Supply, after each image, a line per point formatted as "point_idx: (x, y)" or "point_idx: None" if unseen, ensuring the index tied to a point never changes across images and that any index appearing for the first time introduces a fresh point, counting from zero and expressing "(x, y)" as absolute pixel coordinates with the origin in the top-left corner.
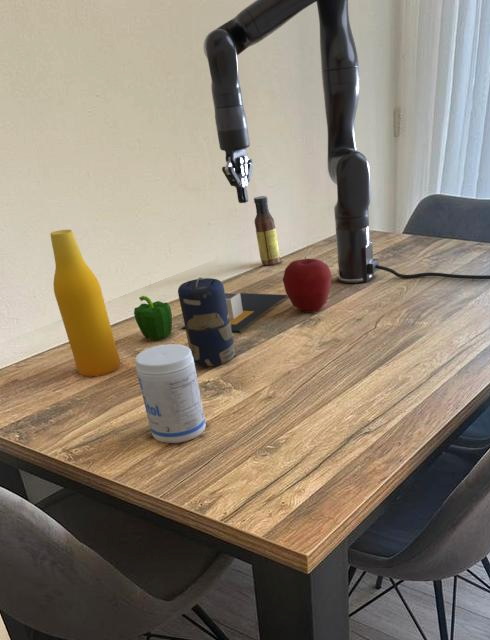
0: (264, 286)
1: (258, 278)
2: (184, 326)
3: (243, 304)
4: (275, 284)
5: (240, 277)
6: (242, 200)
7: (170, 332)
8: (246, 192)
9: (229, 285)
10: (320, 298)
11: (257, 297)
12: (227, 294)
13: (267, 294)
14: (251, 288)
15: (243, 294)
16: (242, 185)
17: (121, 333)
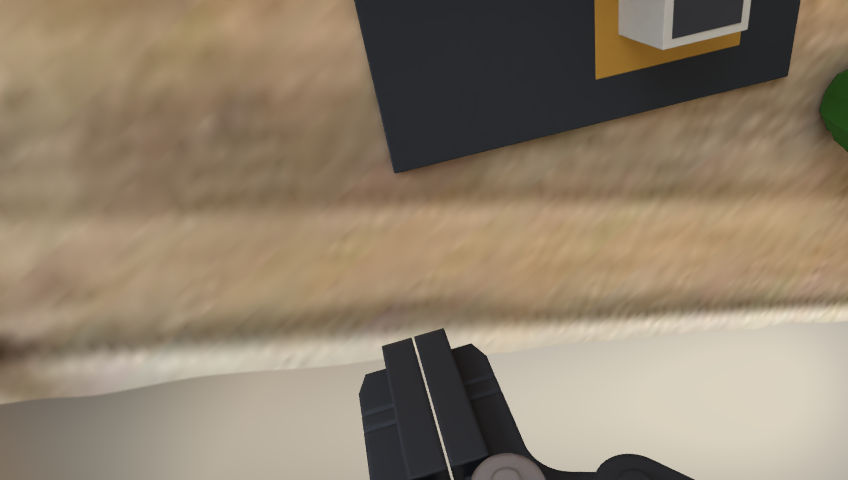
0: (244, 136)
1: (163, 244)
2: (778, 75)
3: (518, 28)
4: (192, 105)
5: (194, 319)
6: (476, 354)
7: (845, 71)
8: (416, 410)
9: (302, 283)
10: None
11: (416, 33)
12: (692, 2)
13: (362, 14)
14: (295, 172)
15: (401, 129)
16: (539, 470)
17: (809, 233)
